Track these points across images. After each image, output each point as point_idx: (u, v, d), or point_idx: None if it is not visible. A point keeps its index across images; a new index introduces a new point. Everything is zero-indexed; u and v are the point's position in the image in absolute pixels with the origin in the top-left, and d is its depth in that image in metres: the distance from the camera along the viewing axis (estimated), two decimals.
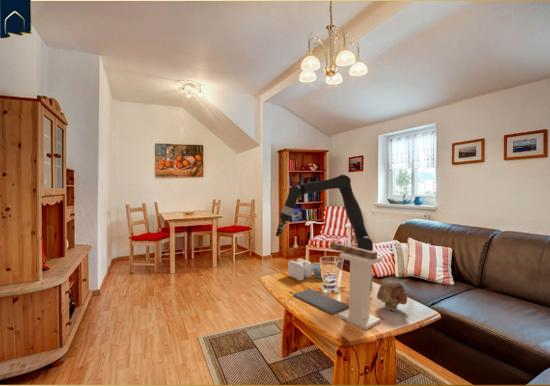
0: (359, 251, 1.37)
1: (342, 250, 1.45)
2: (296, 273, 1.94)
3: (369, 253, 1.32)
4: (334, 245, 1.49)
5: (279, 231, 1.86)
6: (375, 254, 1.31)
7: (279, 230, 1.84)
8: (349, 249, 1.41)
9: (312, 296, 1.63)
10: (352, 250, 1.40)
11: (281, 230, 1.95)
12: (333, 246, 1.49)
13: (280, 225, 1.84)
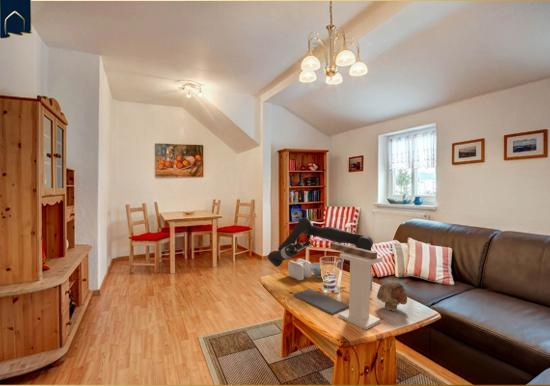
0: (359, 251, 1.37)
1: (342, 250, 1.45)
2: (296, 273, 1.94)
3: (369, 253, 1.32)
4: (334, 245, 1.49)
5: (294, 245, 1.68)
6: (375, 254, 1.31)
7: (291, 246, 1.67)
8: (349, 249, 1.41)
9: (312, 296, 1.63)
10: (352, 250, 1.40)
11: (306, 242, 1.73)
12: (333, 246, 1.49)
13: (288, 248, 1.70)
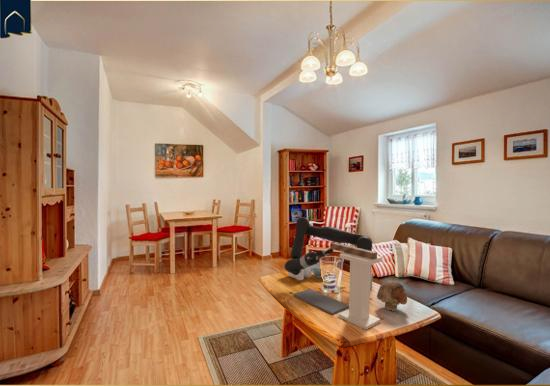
0: (359, 251, 1.37)
1: (342, 250, 1.45)
2: None
3: (369, 253, 1.32)
4: (334, 245, 1.49)
5: (315, 253, 1.54)
6: (375, 254, 1.31)
7: (312, 254, 1.54)
8: (349, 249, 1.41)
9: (312, 296, 1.63)
10: (352, 250, 1.40)
11: (328, 250, 1.59)
12: (333, 246, 1.49)
13: (309, 257, 1.56)
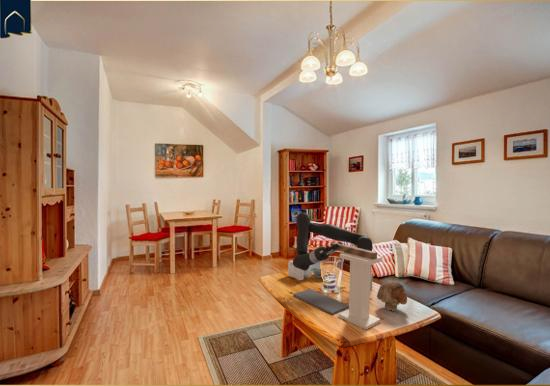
0: (359, 251, 1.37)
1: (342, 250, 1.45)
2: (296, 273, 1.94)
3: (369, 253, 1.32)
4: None
5: (331, 246, 1.48)
6: (375, 254, 1.31)
7: (328, 247, 1.48)
8: (349, 249, 1.41)
9: (312, 296, 1.63)
10: (352, 250, 1.40)
11: None
12: None
13: (323, 251, 1.49)
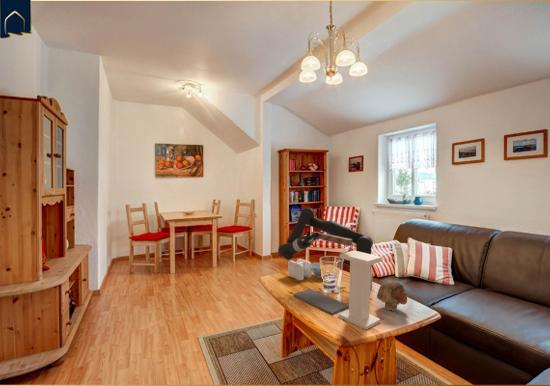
0: (336, 238, 1.47)
1: (321, 238, 1.56)
2: (296, 273, 1.94)
3: (345, 240, 1.43)
4: None
5: (312, 235, 1.59)
6: (350, 241, 1.42)
7: (309, 236, 1.59)
8: (328, 237, 1.52)
9: (312, 296, 1.63)
10: (330, 238, 1.51)
11: None
12: None
13: (304, 239, 1.60)
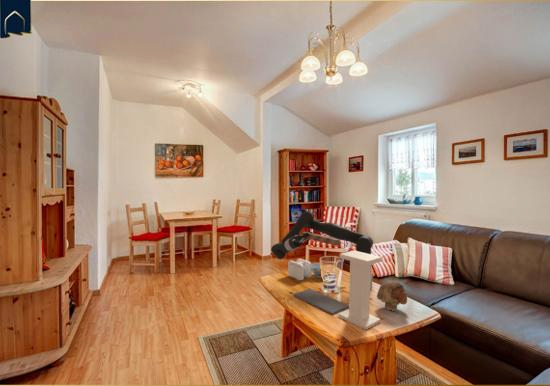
0: (325, 238, 1.54)
1: (311, 238, 1.62)
2: (296, 273, 1.94)
3: (333, 240, 1.49)
4: None
5: (302, 235, 1.66)
6: (338, 241, 1.48)
7: (299, 236, 1.65)
8: (317, 237, 1.58)
9: (312, 296, 1.63)
10: (319, 238, 1.57)
11: None
12: None
13: (295, 239, 1.66)
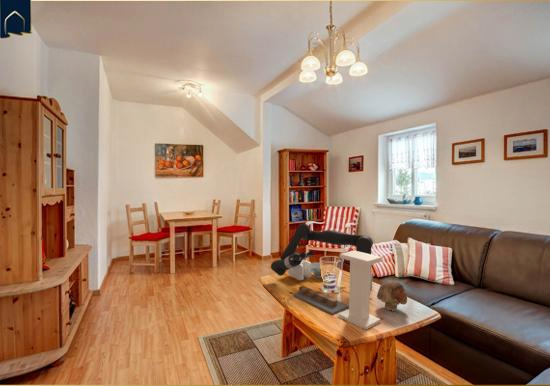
0: (322, 298, 1.56)
1: (308, 295, 1.64)
2: (296, 273, 1.94)
3: (330, 300, 1.52)
4: (302, 289, 1.68)
5: (299, 254, 1.65)
6: (335, 302, 1.51)
7: (296, 255, 1.65)
8: (314, 295, 1.60)
9: None
10: (317, 296, 1.59)
11: (309, 252, 1.70)
12: (301, 290, 1.68)
13: (293, 258, 1.67)
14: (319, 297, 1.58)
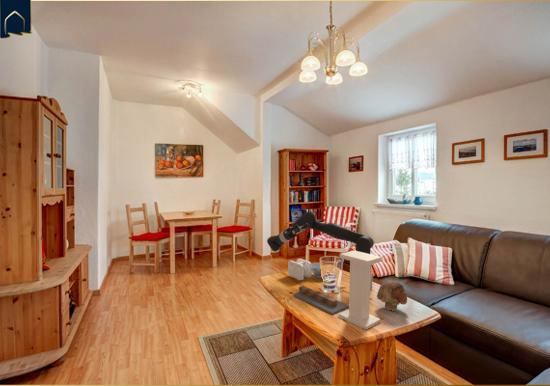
0: (322, 298, 1.56)
1: (308, 295, 1.64)
2: (296, 273, 1.94)
3: (330, 300, 1.52)
4: (302, 289, 1.68)
5: (292, 227, 1.71)
6: (335, 302, 1.51)
7: (289, 228, 1.71)
8: (314, 295, 1.60)
9: None
10: (317, 296, 1.59)
11: (304, 225, 1.77)
12: (301, 290, 1.68)
13: (286, 231, 1.73)
14: (319, 297, 1.58)
